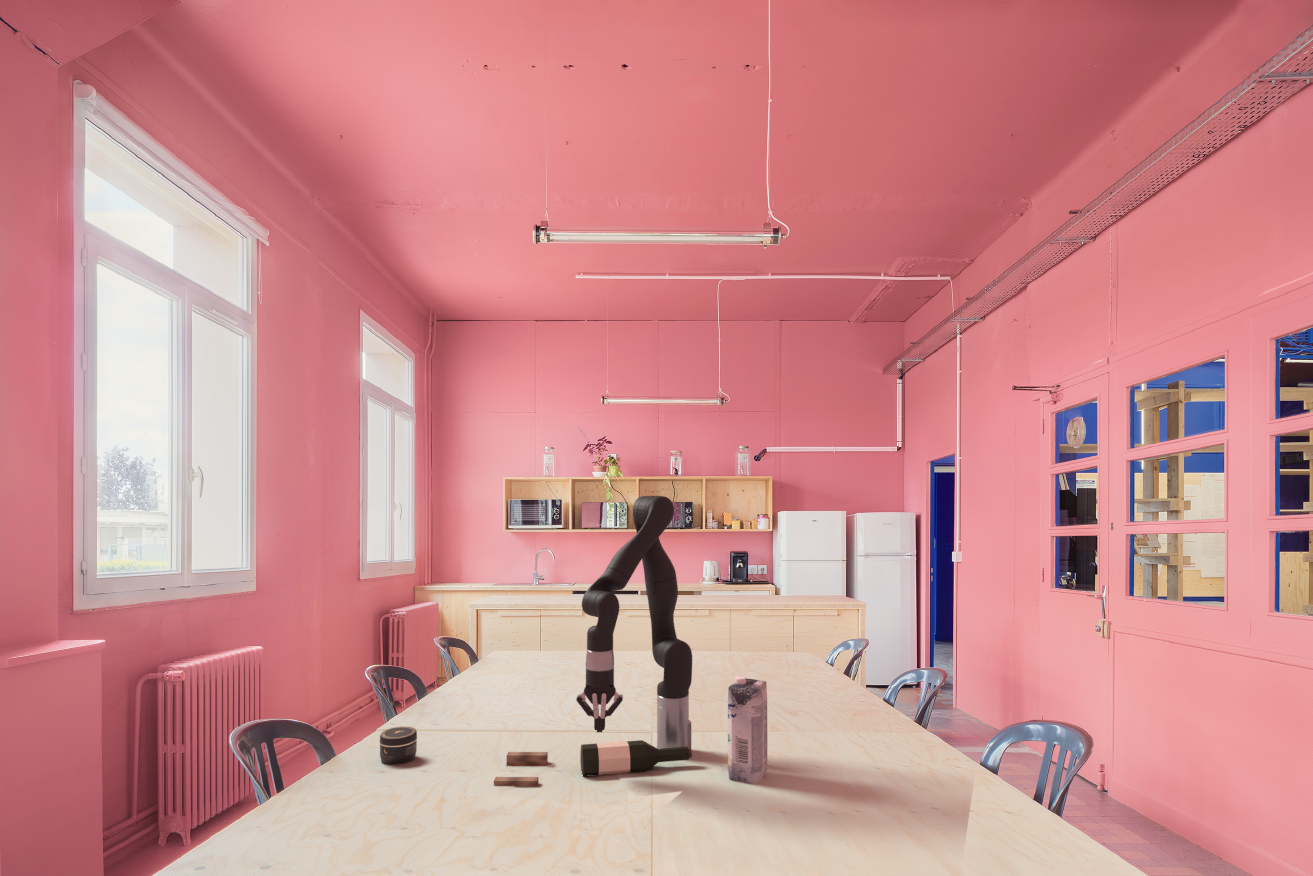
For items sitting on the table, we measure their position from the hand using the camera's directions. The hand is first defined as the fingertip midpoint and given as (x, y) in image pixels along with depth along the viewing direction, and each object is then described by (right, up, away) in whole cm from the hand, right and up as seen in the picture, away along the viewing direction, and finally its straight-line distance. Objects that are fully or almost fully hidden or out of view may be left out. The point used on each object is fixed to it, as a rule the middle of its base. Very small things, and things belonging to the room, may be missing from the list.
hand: (599, 731), depth 201 cm
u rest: (-21, -12, 0) cm, 24 cm away
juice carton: (+39, -12, -3) cm, 41 cm away
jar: (-58, -13, +12) cm, 60 cm away
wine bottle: (-5, -8, +1) cm, 10 cm away
